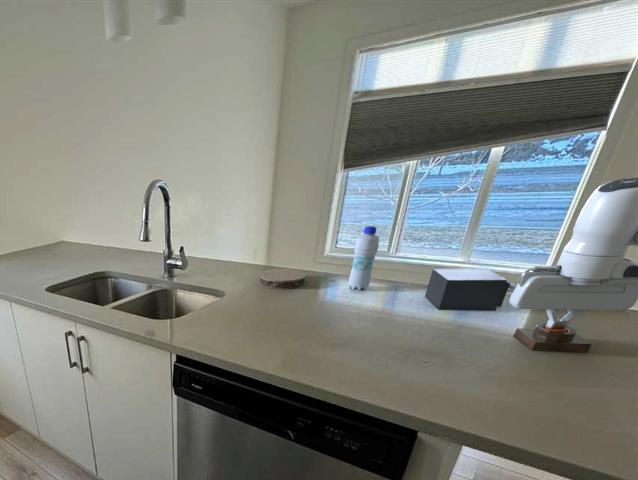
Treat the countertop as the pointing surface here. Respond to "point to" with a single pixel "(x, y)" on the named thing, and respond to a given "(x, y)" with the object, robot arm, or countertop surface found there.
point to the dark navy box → (465, 289)
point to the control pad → (551, 340)
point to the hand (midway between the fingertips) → (556, 327)
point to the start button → (556, 329)
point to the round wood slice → (282, 278)
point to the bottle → (364, 259)
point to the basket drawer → (511, 289)
